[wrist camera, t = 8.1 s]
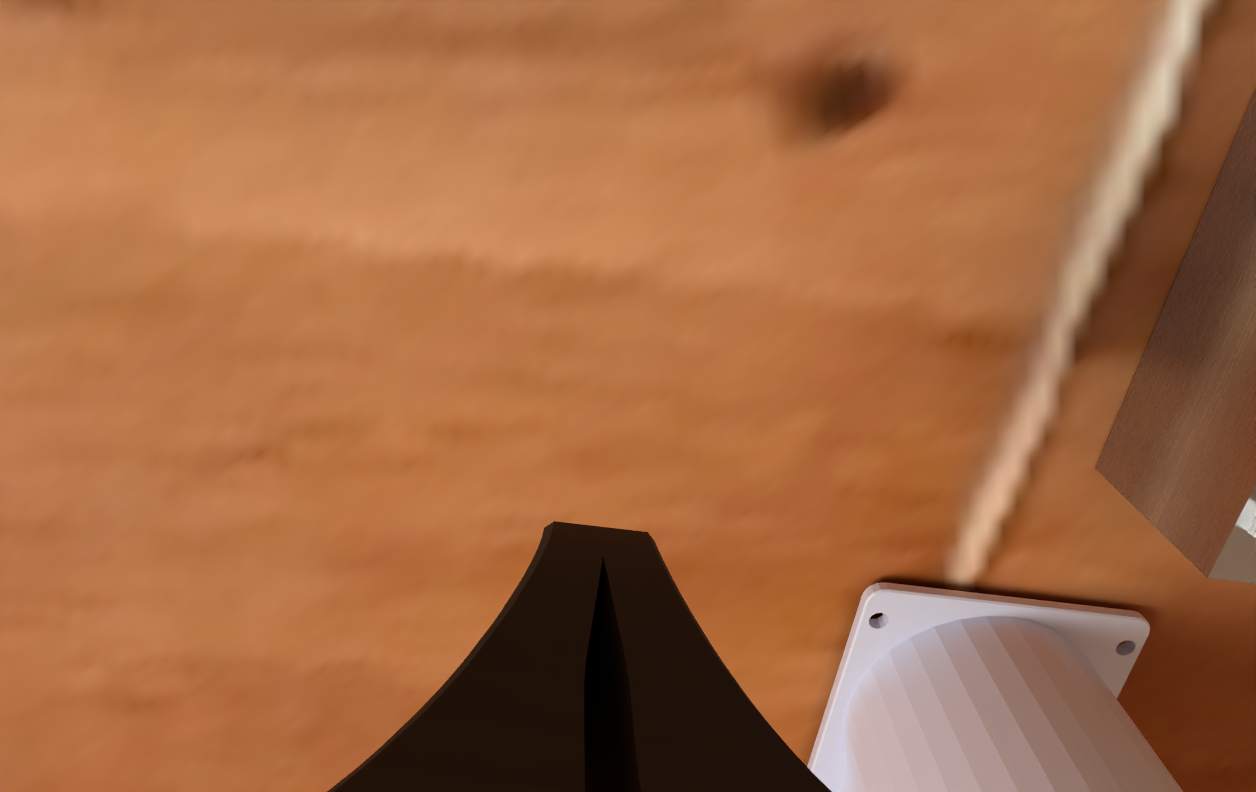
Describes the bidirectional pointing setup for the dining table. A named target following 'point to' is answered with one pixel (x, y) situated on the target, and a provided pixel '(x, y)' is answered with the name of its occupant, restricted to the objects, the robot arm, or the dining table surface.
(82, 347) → the dining table surface
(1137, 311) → the dining table surface
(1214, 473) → the heatsink
